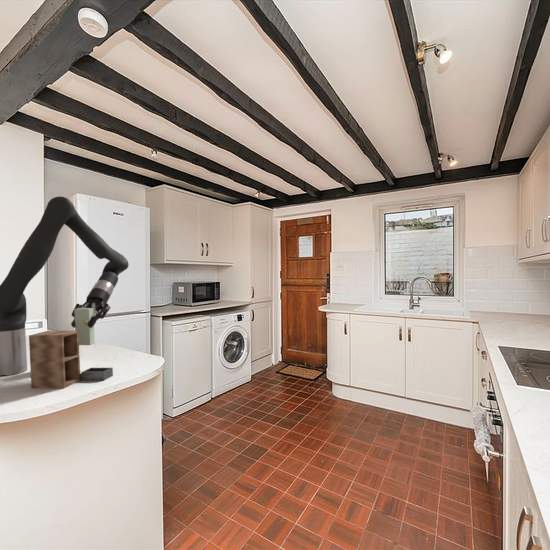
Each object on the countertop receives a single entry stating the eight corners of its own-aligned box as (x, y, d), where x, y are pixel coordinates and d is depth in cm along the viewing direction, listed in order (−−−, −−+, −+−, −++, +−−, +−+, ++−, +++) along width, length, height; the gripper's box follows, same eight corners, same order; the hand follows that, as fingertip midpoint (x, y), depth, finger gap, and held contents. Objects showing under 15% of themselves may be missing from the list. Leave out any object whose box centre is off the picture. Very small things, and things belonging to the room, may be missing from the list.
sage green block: (73, 345, 117) (72, 309, 117) (80, 343, 121) (79, 308, 121) (88, 345, 117) (87, 309, 117) (94, 343, 120) (93, 308, 120)
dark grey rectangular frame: (79, 380, 110) (79, 372, 110) (89, 375, 115) (89, 367, 115) (103, 380, 109) (103, 372, 109) (112, 375, 114) (112, 367, 114)
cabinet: (31, 388, 104) (28, 335, 104) (50, 380, 112) (47, 330, 112) (64, 388, 103) (61, 335, 103) (80, 380, 111) (78, 330, 110)
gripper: (80, 287, 127) (58, 321, 116) (112, 286, 126) (93, 320, 114) (89, 299, 132) (69, 332, 121) (121, 298, 131) (103, 332, 119)
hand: (81, 326), depth 118 cm, fingers closed on sage green block, 6 cm apart
